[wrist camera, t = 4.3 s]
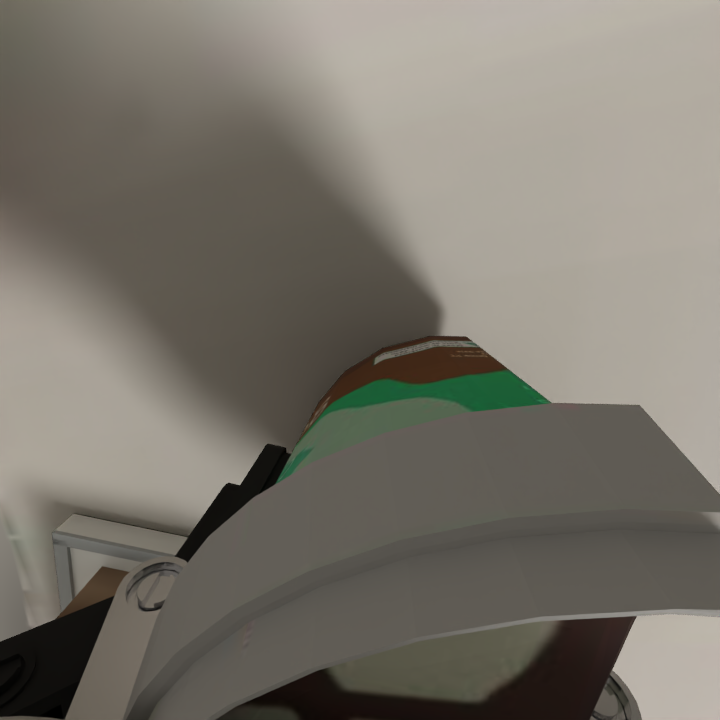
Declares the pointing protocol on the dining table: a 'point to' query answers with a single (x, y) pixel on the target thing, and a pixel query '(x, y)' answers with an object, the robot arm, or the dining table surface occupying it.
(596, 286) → the dining table surface
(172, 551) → the picture frame
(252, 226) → the dining table surface
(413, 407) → the food container
